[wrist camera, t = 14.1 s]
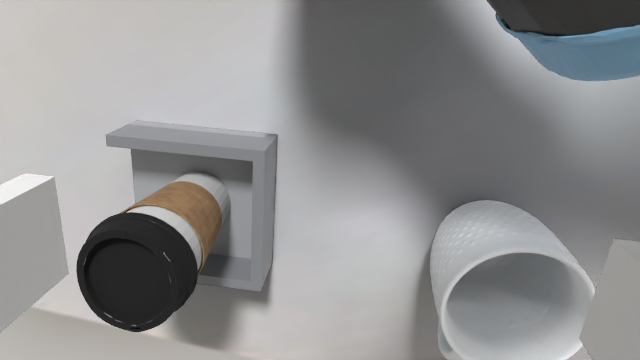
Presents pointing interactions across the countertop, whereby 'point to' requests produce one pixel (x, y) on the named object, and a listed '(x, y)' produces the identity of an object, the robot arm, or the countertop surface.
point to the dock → (233, 171)
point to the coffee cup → (152, 252)
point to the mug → (505, 286)
